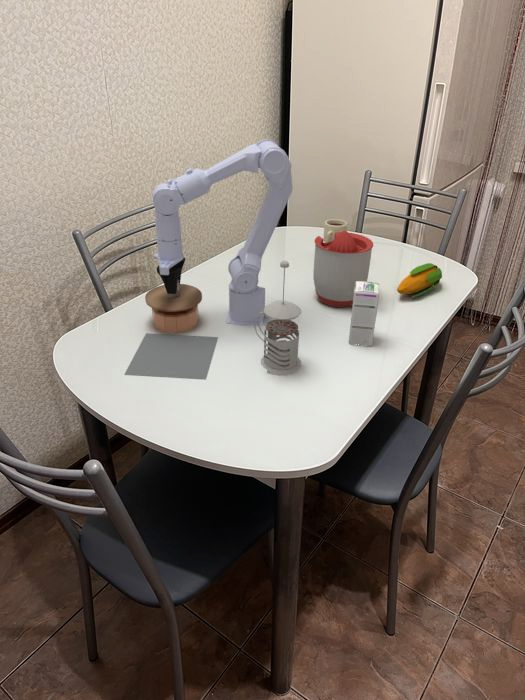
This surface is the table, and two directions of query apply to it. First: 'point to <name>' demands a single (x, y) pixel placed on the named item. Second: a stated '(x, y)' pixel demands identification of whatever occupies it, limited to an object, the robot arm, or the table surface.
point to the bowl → (175, 319)
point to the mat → (173, 356)
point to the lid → (173, 298)
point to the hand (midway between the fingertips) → (173, 290)
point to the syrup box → (364, 313)
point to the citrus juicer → (340, 267)
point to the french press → (281, 336)
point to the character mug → (333, 228)
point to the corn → (420, 279)
